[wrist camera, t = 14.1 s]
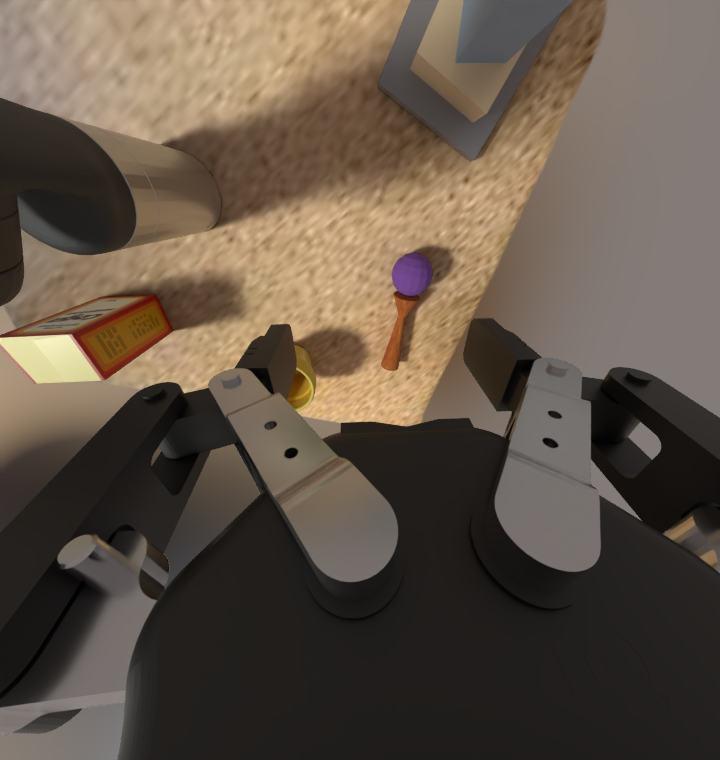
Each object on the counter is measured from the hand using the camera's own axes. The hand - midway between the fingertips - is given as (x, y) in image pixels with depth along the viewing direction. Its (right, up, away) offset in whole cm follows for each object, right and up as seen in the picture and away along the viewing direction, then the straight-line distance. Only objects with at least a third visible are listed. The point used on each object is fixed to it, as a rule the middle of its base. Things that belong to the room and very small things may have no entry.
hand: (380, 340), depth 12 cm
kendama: (+6, +10, +34) cm, 36 cm away
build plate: (+11, +35, +17) cm, 40 cm away
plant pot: (-14, +2, +39) cm, 42 cm away
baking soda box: (-39, +10, +34) cm, 53 cm away
